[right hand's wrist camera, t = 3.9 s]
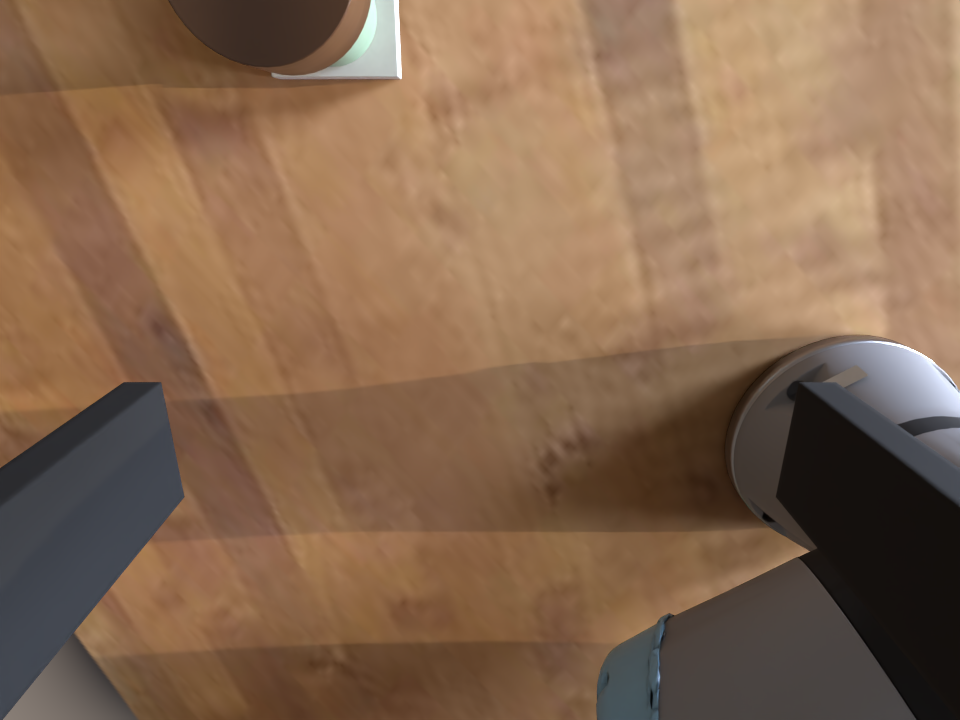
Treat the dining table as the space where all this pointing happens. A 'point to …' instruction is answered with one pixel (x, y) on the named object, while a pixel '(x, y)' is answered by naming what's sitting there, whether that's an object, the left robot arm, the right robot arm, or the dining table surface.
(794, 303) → the dining table surface
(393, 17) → the jar stand
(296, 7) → the brown cylinder
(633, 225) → the dining table surface
